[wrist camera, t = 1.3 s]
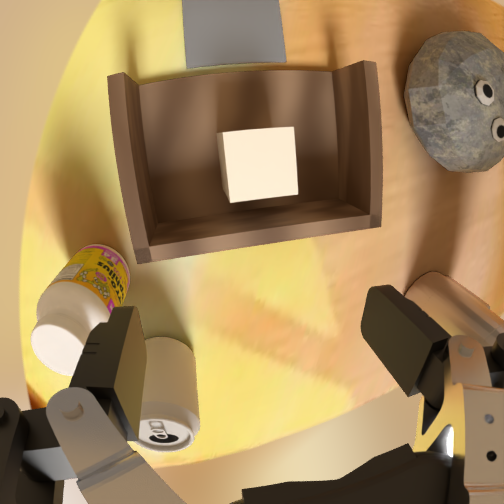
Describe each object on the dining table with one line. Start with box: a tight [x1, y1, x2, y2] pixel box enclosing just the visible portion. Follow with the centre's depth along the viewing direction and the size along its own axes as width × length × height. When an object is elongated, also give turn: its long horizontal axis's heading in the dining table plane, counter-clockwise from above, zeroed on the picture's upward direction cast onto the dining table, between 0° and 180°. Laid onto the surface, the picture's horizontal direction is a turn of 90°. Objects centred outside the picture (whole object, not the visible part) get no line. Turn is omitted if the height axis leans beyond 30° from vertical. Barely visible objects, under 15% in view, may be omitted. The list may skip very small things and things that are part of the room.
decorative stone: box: [404, 31, 504, 173], centre depth 23 cm, size 18×21×10 cm
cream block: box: [217, 127, 298, 203], centre depth 23 cm, size 5×5×6 cm
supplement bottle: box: [31, 244, 130, 376], centre depth 22 cm, size 7×7×13 cm
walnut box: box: [107, 60, 383, 264], centre depth 23 cm, size 20×14×7 cm
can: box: [134, 337, 200, 452], centre depth 28 cm, size 8×8×12 cm
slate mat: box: [182, 0, 286, 69], centre depth 21 cm, size 9×9×1 cm
